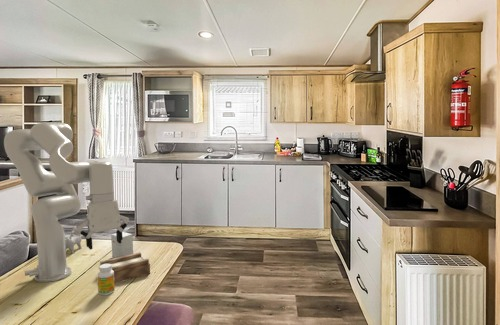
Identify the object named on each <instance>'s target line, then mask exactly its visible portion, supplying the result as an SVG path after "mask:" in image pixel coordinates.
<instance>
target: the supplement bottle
mask: <svg viewBox="0 0 500 325" xmlns="http://www.w3.org/2000/svg"><path fill="white" fill-rule="evenodd" d="M98 269H99V271H98V273H97V290H98V294H99V295H101V296H107V295H111V294H113V293H114V292H115V291H116V290H115V289H116V288H115V283H114V271H113V270H111V269H112V265H111V264H102V265H100V264H99V268H98Z"/></svg>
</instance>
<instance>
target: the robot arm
mask: <svg viewBox="0 0 500 325" xmlns="http://www.w3.org/2000/svg"><path fill="white" fill-rule="evenodd" d="M73 138H74V132H73V129H72V128H71V126H70V125H69V124H67V123H64V122H39V123H36V124H34V125H33V126H32V127H31V128H20V129H13V130H11V131H8V132H7V133H6V134H5V136H4V139H3V146H4V151H5V153H6V155H7V157H8V159H9V160H10V161H11V163H12V164H13V165H14V166H15V168H16V169H17V172H18V175H19V176H20V179H21V180H22V183H23V186H24V187H25V189H26V191H27V193H28V194H29V195H30V196H31V197H33V198H39V199H37V200H35V201H34V202H33V203H32V205H31V216H32V218H33V222H34V226H35V233H36V234H35V236H36V248H37V249H36V250H37V260H38V261H37V262H38V264H37V265H36V267H34V268H33V269H28V270H24V276H25V277H26V276H29V277H34V281H36V282H40V283H49V282H55V281H58V280H62V279H64V278H66V277H68V276H69V275H71V274H72V268H71V267H69V266H68V265H67V249H66V248H65V240H66V238H65V237H66V235H65V228H64V227H63V226H62V224H61V223H60V222H59V221H58V220H61V219H64V218H69V217H73V216H74V215H75V216H76V215H77V214H78V213H80V211H81V208H82V207H81V206H82V205H81V201H80V200H81V199H80V197H79V195H78V193H77V191H76V189H75V186H74V185H76V184H82V183H89V195H85V200H86V201H90V202H88V203H87V204H88V205H87V218H86V220H84V221H83V222H81V223H80V224H78V225H76V228H77V229H78V231H79V232H80V236H81V235H82V236H83V237H84V238H85V244H86V248H88V249H89V250H93V248H94V247H93V238H92V237H91V236H93V234H94V233H101V232H107V231H111V230H115V229H116V236H117V242H118V243H121V240H122V239H123V238H122V232H124V230H125V228H127V225H128V223H129V221H130V218H129V217H127V216H124V215H121V214H120V208H119V204H118V200H117V199H115V193H114V192H115V191H114V190H115V189H114V188H115V187H114V174H113V173H114V172H113V164H112V163H111V162H110V161H97V160H94V159H93V160H90V159H89V160H79V161H72V162H69V161H67V160H66V159H67V158H68V157H70V155H72V152H73V150H74V144H73V142H72V141H73ZM30 151H45V152H46V153H47V155H49V158H48V163H49V164H48V165H49V169H50V171H49V170H46V169H45V167H44V165H43V162H42V161H41V159H39V158H38V157H37V156H36V155H34V154H33V153H31V152H30ZM40 197H41V198H40ZM121 220H122V224H121ZM86 226H87V231H84V230H83V228H85V227H86Z"/></svg>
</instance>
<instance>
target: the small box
mask: <svg viewBox="0 0 500 325" xmlns="http://www.w3.org/2000/svg"><path fill="white" fill-rule="evenodd" d="M110 237H111V255H112V256H111V257H112V258H118V257H122V256H126V255H131V254H134V242H133V233H128V232H125V231H123V232H122V238H123V239H122V240H121V243H118V242H117V236H116V233H112V234H111V235H110Z"/></svg>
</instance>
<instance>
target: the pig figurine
mask: <svg viewBox="0 0 500 325" xmlns="http://www.w3.org/2000/svg"><path fill="white" fill-rule="evenodd" d="M76 227H77V225H75V226H74V225H73V227H72V230H71V233H70V236H68V237H67V238H65V248H66V250H68V249H69V251H70V252H71V255H73V254H75V249H74V248H75V245H76V246H77V248H78V249H79V250H81V249H83V248H82V245H81V244H82V242H81V241H82V236H81V234H80V232H79V231H78V229H77V228H76Z"/></svg>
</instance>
